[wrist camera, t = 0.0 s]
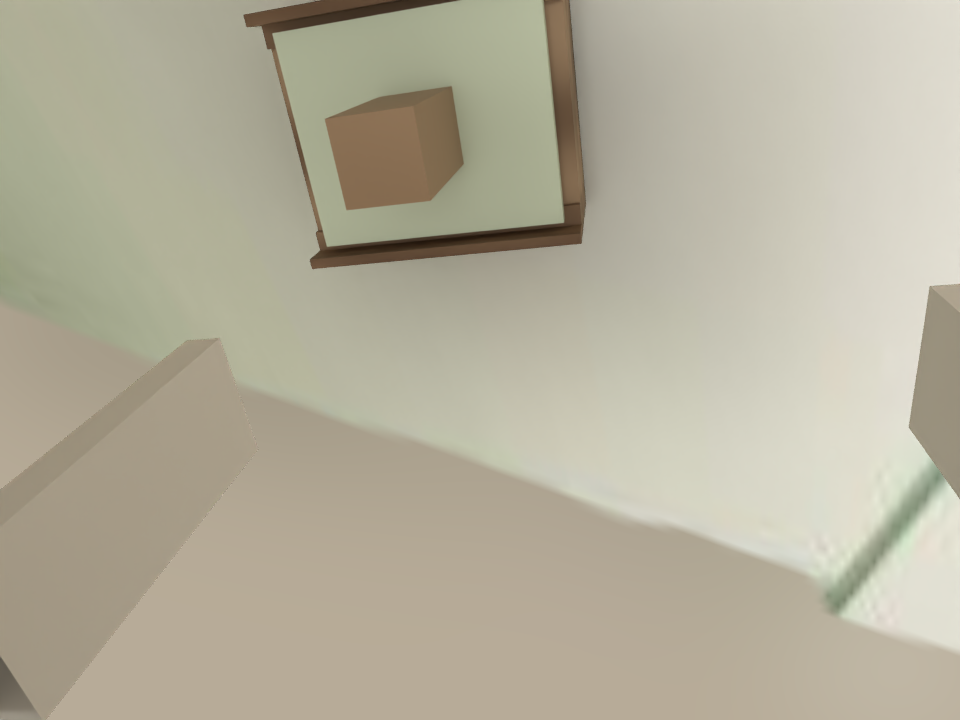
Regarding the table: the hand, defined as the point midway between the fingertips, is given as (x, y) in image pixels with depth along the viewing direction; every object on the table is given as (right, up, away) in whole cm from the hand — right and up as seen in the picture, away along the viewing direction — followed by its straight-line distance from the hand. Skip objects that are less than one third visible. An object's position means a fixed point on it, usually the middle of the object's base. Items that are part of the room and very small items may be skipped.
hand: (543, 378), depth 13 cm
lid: (-4, +12, +20) cm, 23 cm away
